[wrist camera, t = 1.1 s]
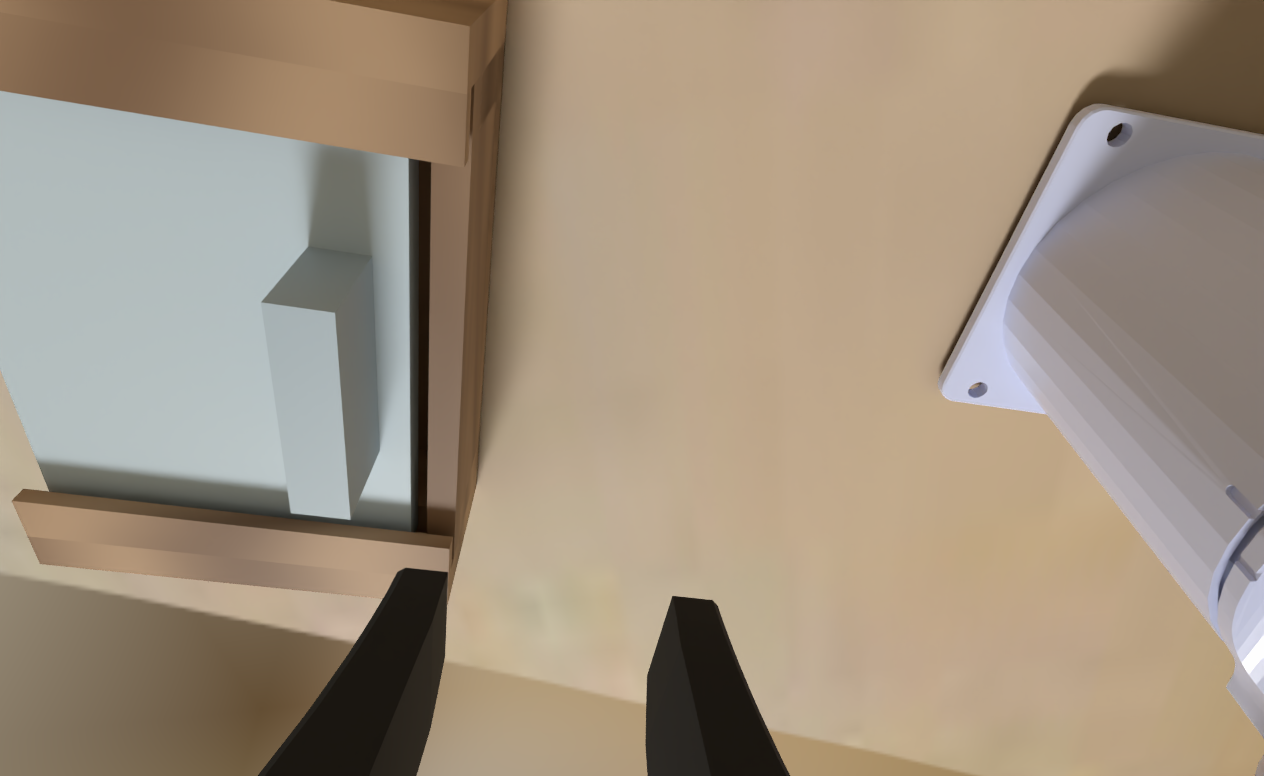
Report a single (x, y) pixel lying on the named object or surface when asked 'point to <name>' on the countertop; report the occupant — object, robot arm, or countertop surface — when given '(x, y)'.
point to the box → (320, 113)
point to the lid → (210, 314)
